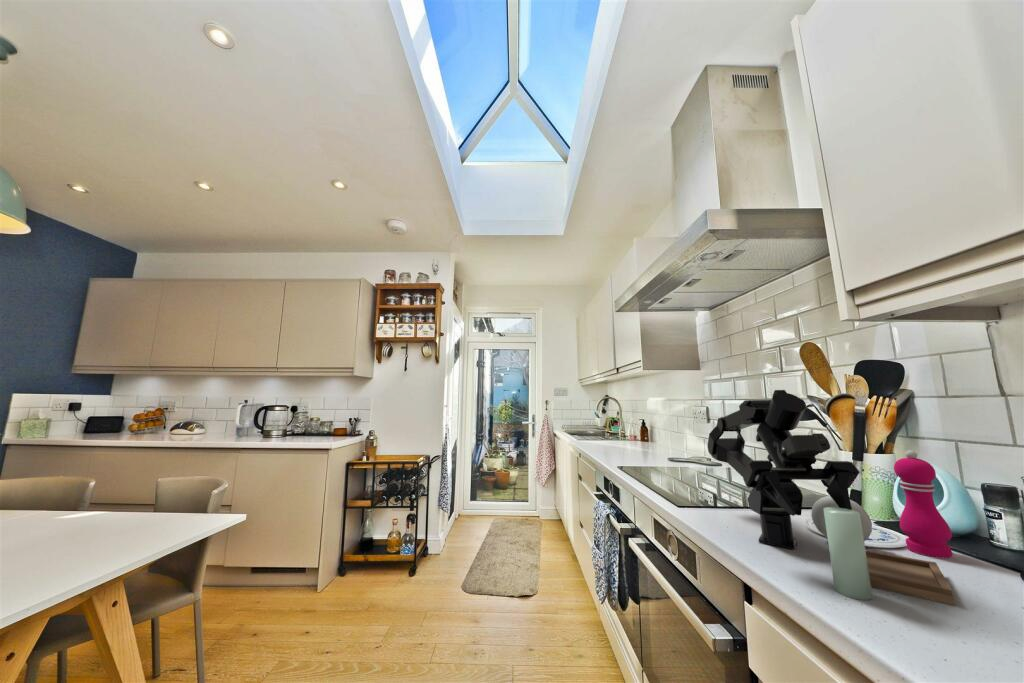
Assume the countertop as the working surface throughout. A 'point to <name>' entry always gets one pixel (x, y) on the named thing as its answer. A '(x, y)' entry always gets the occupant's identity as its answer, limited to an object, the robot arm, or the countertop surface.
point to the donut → (829, 502)
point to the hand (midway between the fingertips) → (822, 515)
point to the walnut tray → (908, 577)
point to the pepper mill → (921, 509)
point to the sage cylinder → (848, 553)
